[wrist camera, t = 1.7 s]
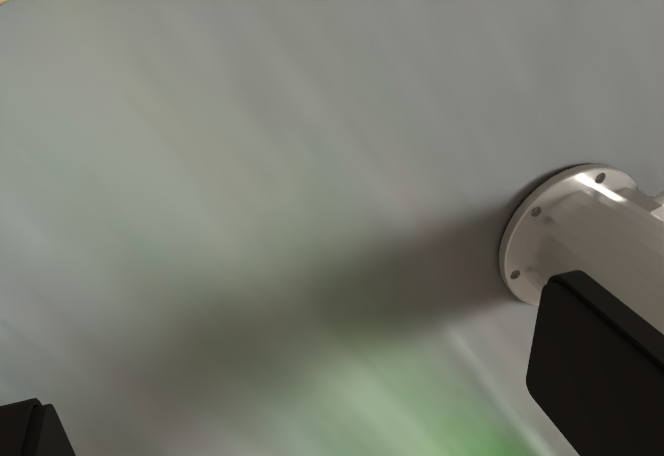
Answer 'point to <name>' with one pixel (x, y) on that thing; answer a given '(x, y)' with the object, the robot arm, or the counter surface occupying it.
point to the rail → (4, 2)
